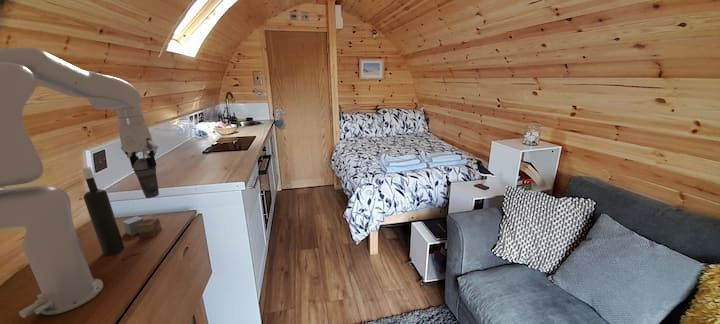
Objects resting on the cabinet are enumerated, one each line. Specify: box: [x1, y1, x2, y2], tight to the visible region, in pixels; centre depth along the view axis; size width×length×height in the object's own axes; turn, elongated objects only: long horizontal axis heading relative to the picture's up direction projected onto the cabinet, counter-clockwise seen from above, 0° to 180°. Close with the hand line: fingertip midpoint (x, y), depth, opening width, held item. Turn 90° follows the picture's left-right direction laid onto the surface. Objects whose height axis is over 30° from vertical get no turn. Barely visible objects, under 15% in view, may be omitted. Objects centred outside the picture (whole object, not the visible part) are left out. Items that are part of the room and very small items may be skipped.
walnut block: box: [137, 217, 163, 238], centre depth 111 cm, size 5×5×5 cm
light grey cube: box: [122, 216, 145, 236], centre depth 114 cm, size 5×5×5 cm
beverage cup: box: [132, 152, 160, 199], centre depth 115 cm, size 7×7×20 cm
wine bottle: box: [81, 166, 125, 257], centre depth 97 cm, size 6×6×30 cm
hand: (144, 166), depth 115 cm, fingers closed on beverage cup, 6 cm apart
